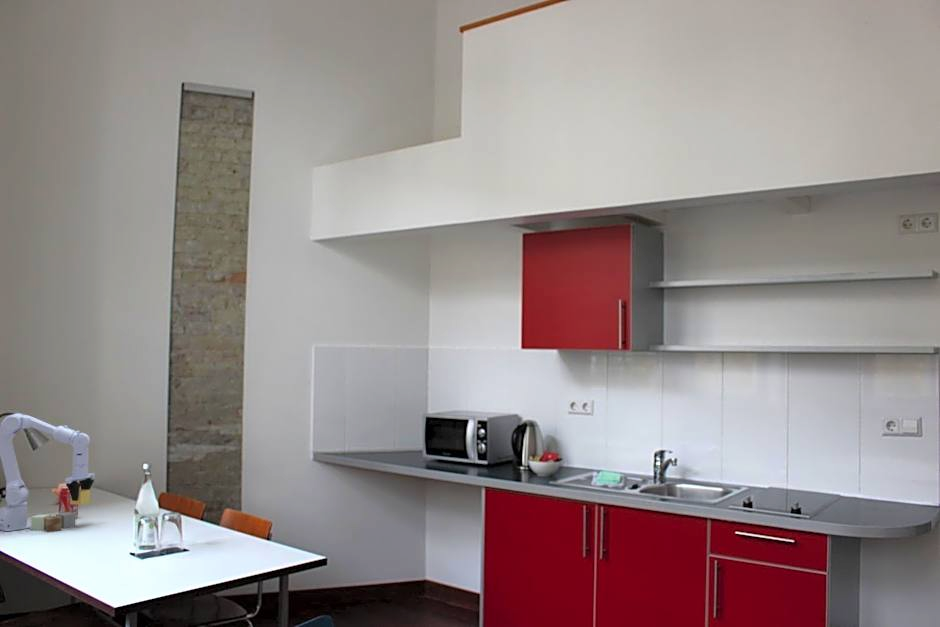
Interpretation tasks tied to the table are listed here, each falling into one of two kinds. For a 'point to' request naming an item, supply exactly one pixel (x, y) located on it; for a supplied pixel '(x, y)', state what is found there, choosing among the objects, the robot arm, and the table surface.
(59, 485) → the teapot
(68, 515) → the slate block
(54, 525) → the walnut block
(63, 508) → the soda can
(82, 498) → the ochre block
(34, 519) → the pale green block
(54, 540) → the table surface
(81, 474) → the robot arm
